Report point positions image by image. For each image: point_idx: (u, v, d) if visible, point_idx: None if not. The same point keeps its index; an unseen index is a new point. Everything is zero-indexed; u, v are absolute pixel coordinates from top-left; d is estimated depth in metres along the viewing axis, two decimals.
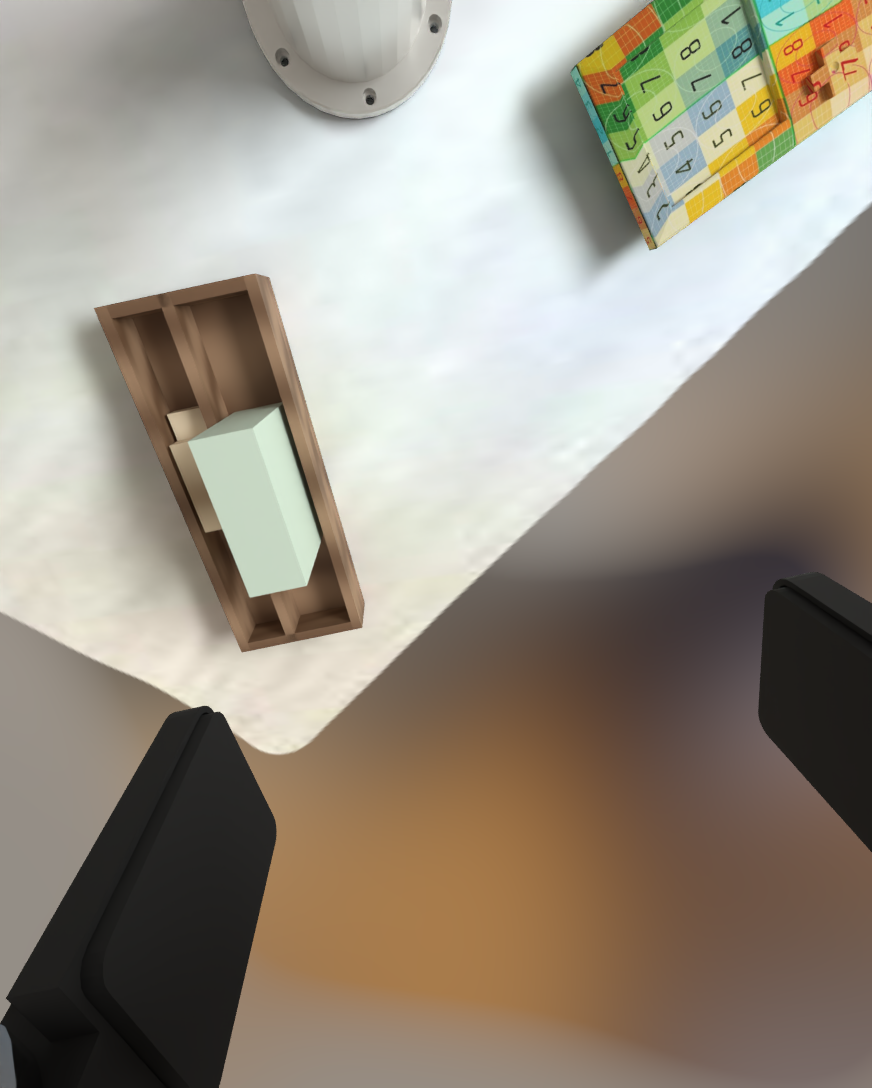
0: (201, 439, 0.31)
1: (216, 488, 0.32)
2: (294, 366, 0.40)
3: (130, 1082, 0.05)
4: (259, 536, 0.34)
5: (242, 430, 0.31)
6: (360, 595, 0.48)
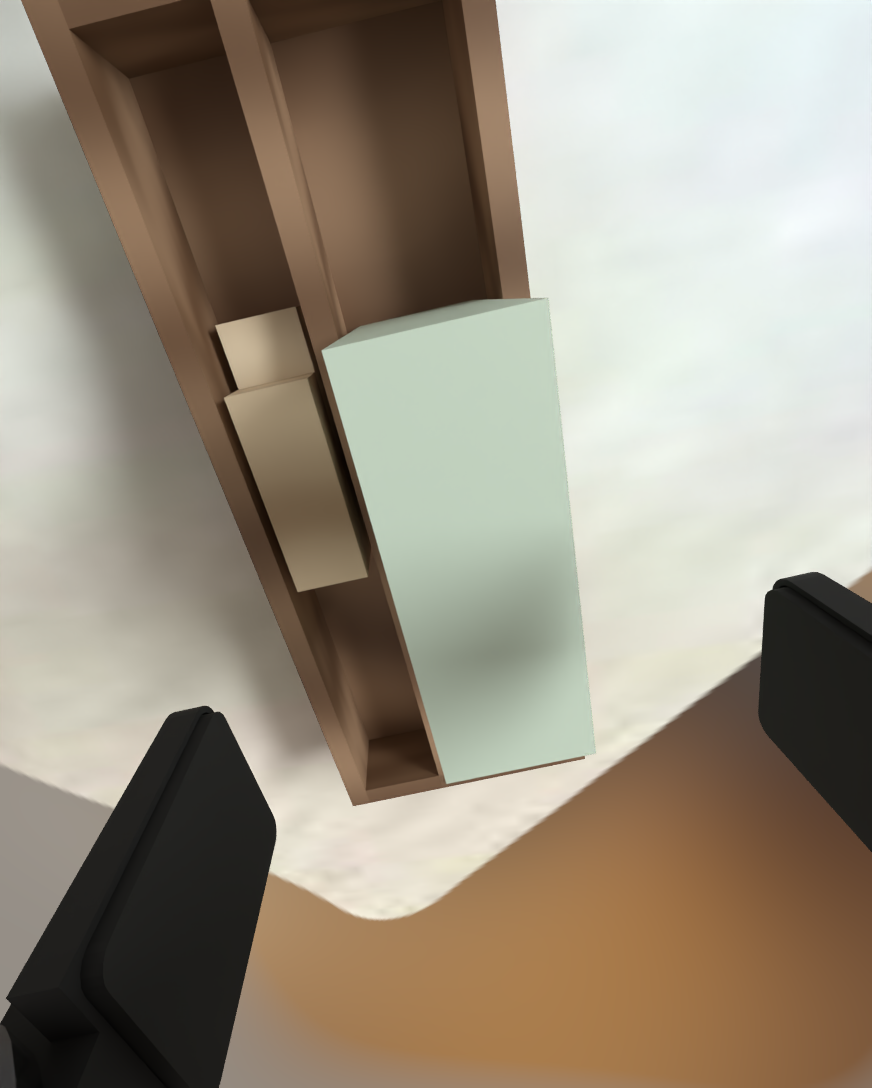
0: (368, 342, 0.09)
1: (396, 507, 0.10)
2: None
3: (130, 1082, 0.05)
4: (499, 639, 0.12)
5: (510, 308, 0.09)
6: None
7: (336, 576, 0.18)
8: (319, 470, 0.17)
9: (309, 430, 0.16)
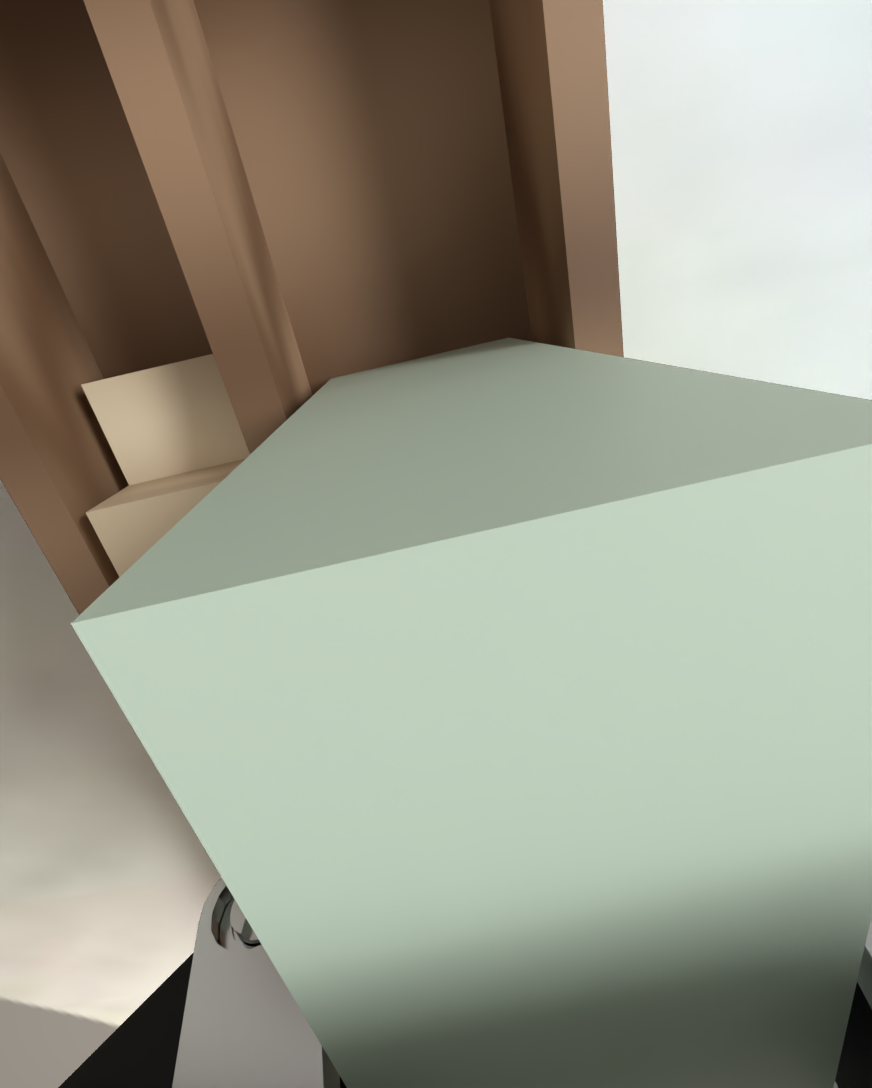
0: (260, 588, 0.02)
1: (380, 986, 0.04)
2: None
3: None
4: None
5: (817, 457, 0.02)
6: None
7: None
8: None
9: None
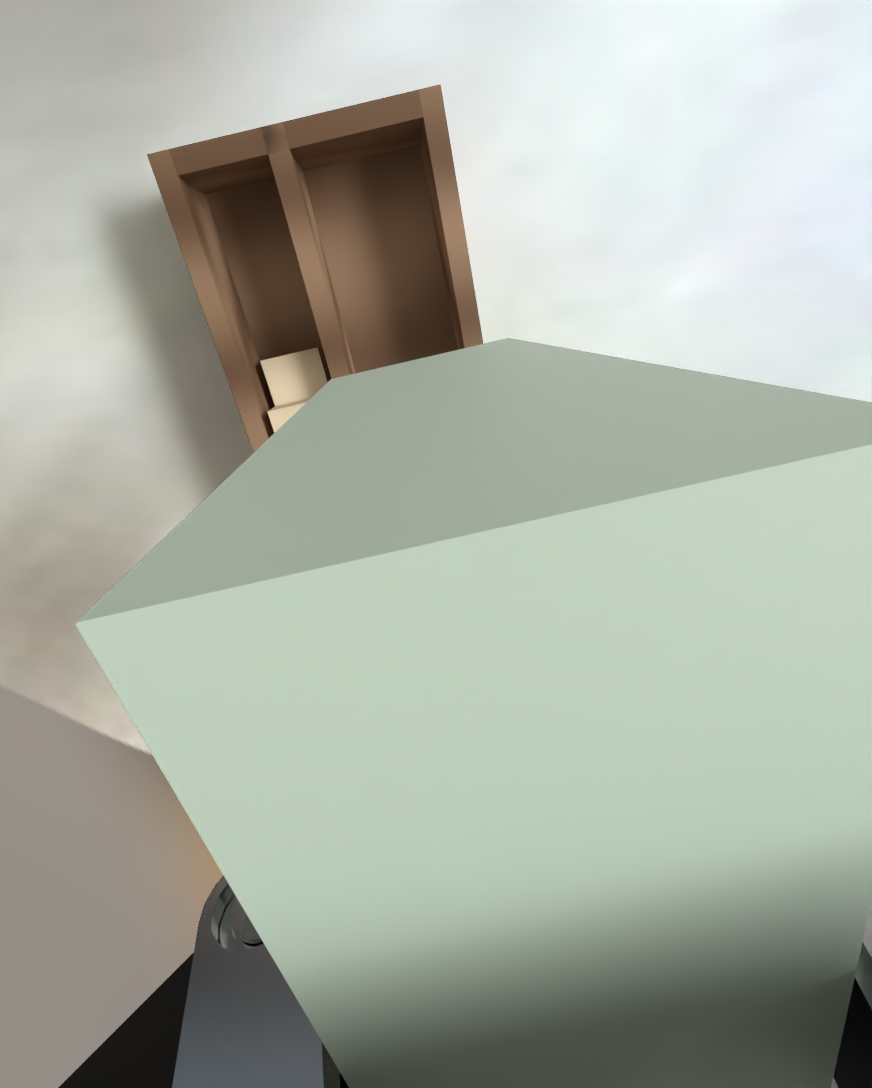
0: (262, 588, 0.02)
1: (379, 983, 0.04)
2: None
3: None
4: None
5: (813, 458, 0.02)
6: None
7: None
8: None
9: None
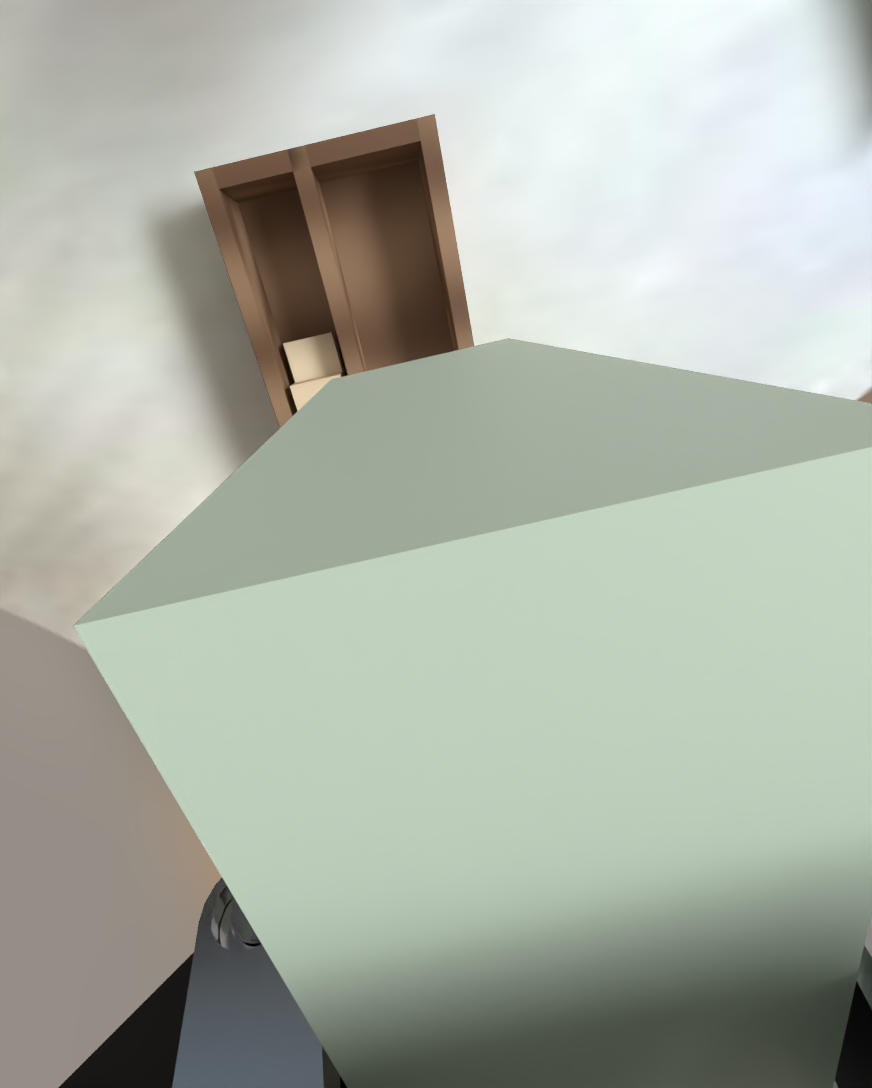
0: (261, 591, 0.02)
1: (380, 987, 0.04)
2: None
3: None
4: None
5: (816, 461, 0.02)
6: None
7: None
8: None
9: None
